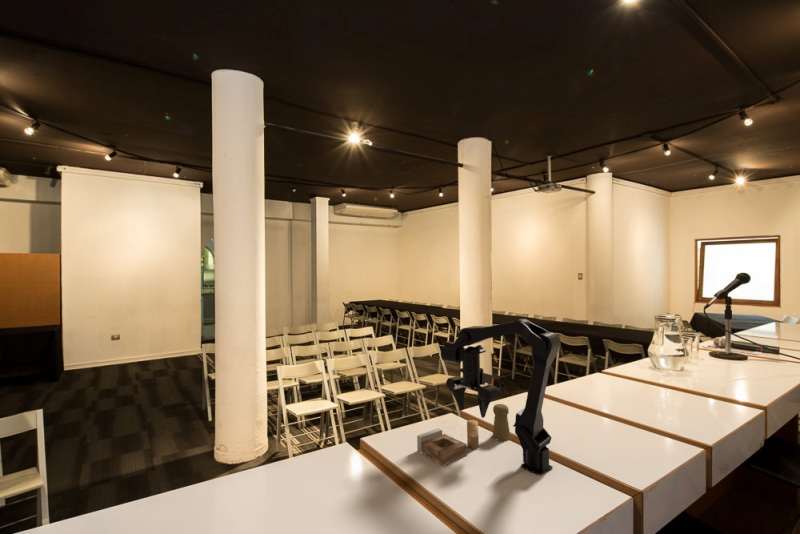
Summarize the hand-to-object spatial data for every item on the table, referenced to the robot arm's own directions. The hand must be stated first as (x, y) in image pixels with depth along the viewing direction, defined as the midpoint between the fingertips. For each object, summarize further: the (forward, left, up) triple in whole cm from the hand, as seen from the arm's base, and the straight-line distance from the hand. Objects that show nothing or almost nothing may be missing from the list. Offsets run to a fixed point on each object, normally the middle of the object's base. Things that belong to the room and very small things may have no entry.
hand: (472, 413), depth 128 cm
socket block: (+2, +11, -11) cm, 16 cm away
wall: (+8, +12, -11) cm, 18 cm away
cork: (-1, -13, -11) cm, 17 cm away
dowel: (0, 0, -11) cm, 11 cm away
